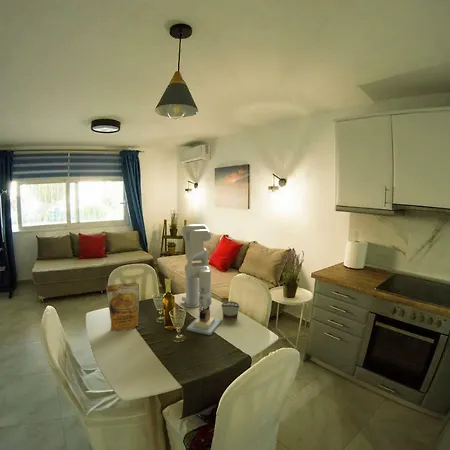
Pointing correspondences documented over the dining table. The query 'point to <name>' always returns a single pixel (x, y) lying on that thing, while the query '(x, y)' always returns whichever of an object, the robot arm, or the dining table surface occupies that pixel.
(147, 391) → the dining table surface
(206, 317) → the walnut block
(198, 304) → the robot arm
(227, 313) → the food container
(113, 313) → the pancake mix bag
